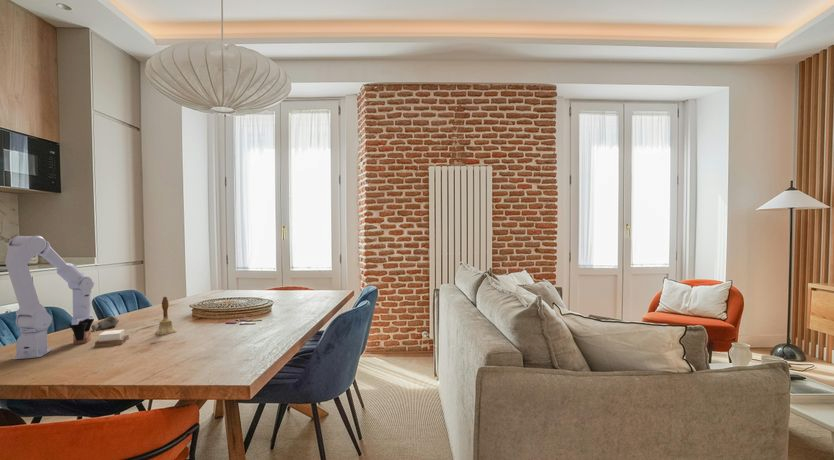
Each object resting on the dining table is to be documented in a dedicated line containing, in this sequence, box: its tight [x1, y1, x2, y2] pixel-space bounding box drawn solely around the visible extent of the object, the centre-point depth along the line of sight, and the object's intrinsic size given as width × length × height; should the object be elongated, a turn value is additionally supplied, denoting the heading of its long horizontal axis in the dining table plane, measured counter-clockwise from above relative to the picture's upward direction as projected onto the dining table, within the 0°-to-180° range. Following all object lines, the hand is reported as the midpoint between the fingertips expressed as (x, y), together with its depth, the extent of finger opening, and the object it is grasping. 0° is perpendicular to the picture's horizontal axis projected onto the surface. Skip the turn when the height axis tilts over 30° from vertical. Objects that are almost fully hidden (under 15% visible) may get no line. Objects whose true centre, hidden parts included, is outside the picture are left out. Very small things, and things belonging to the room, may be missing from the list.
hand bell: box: [154, 296, 177, 336], centre depth 187 cm, size 8×8×16 cm
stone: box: [90, 315, 120, 331], centre depth 196 cm, size 10×5×8 cm
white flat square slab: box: [97, 329, 126, 341], centre depth 170 cm, size 7×7×2 cm
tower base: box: [94, 334, 130, 348], centre depth 170 cm, size 9×9×2 cm
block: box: [72, 330, 92, 345], centre depth 172 cm, size 4×4×4 cm
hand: (82, 338), depth 172 cm, fingers closed on block, 4 cm apart
